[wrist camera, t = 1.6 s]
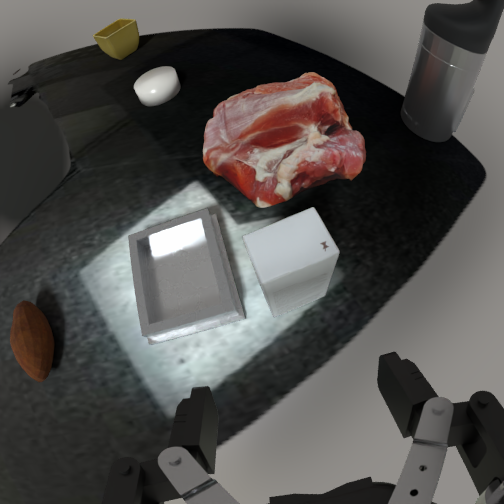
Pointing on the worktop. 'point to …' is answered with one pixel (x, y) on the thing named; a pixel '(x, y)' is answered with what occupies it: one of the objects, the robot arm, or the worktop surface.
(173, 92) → the white domed puck
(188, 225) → the tray
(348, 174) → the meat
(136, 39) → the flower pot
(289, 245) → the skincare box
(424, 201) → the worktop surface
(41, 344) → the potato
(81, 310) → the worktop surface
